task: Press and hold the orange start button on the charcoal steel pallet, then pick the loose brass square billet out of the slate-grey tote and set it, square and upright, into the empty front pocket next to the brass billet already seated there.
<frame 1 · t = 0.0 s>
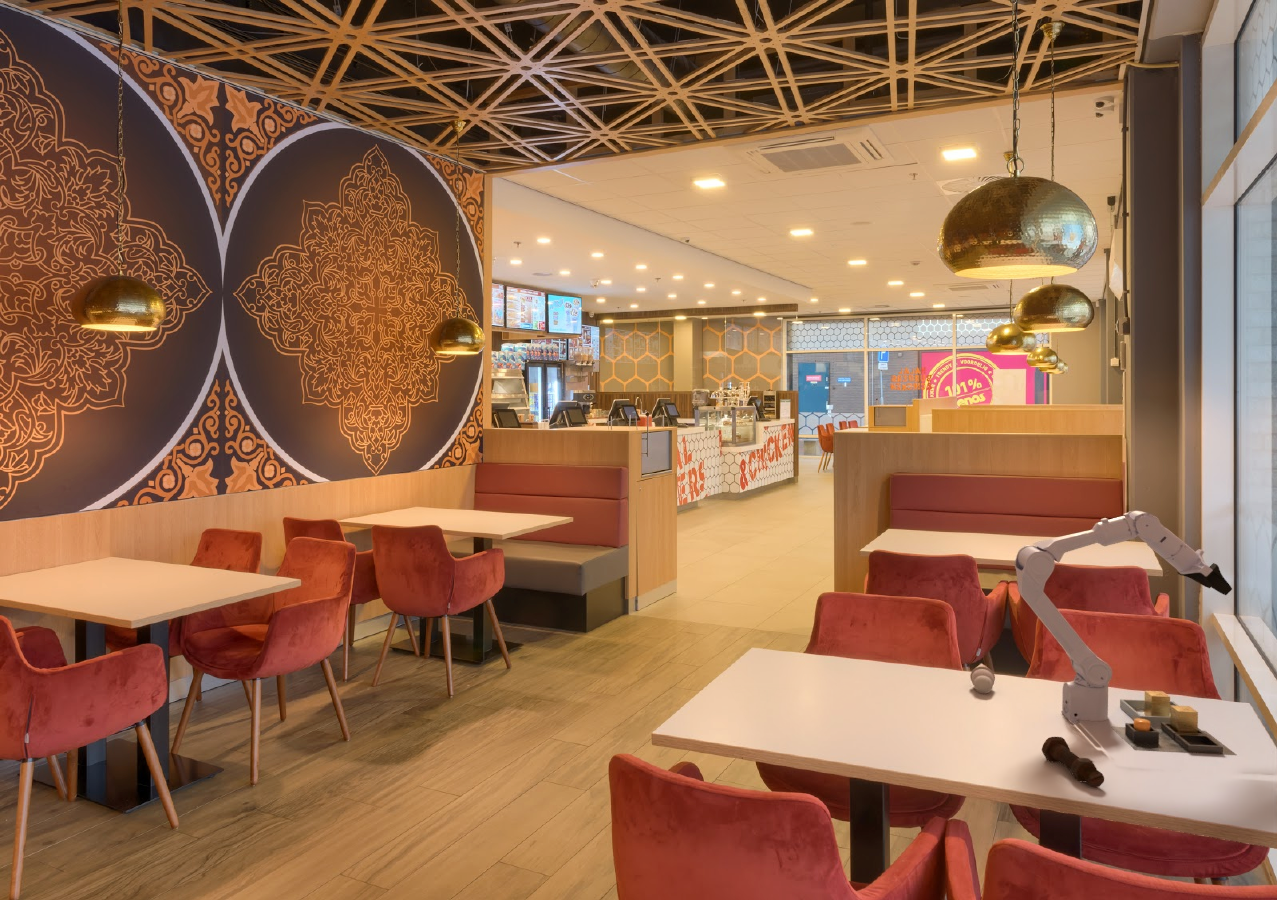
hand: (1220, 588, 203), 32 cm above the table, fingers open, 7 cm apart
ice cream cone: (981, 688, 234), on the table
tote: (1156, 721, 207), on the table
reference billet: (1183, 735, 196), point 1 cm above the table, touching pallet
pallet: (1170, 744, 193), on the table
start button: (1141, 726, 194), point 4 cm above the table, slide at 0.0 cm
billet: (1156, 718, 207), point 1 cm above the table, touching tote
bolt: (1073, 775, 179), on the table
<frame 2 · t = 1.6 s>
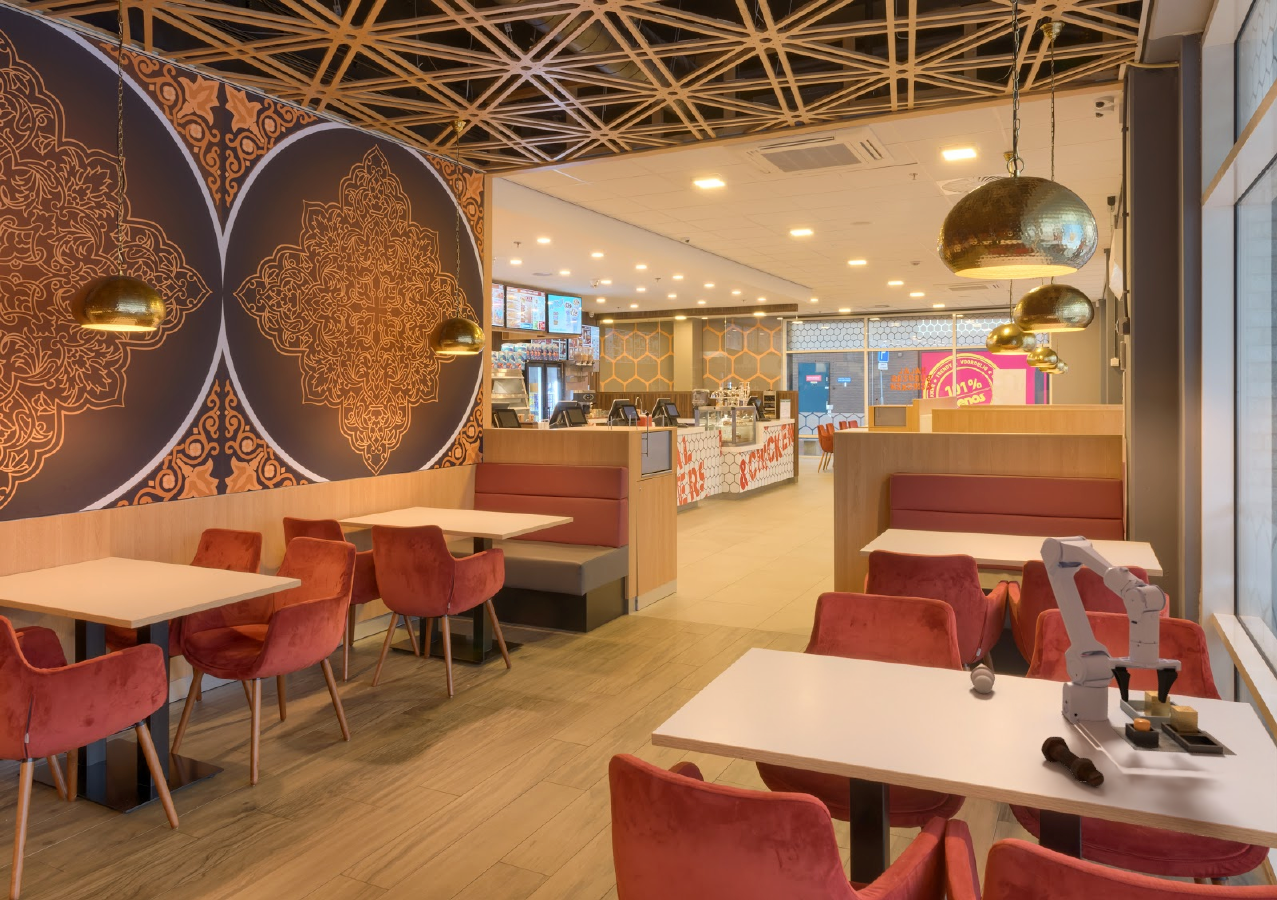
hand: (1143, 701, 194), 9 cm above the table, fingers open, 7 cm apart
nothing on the table moved.
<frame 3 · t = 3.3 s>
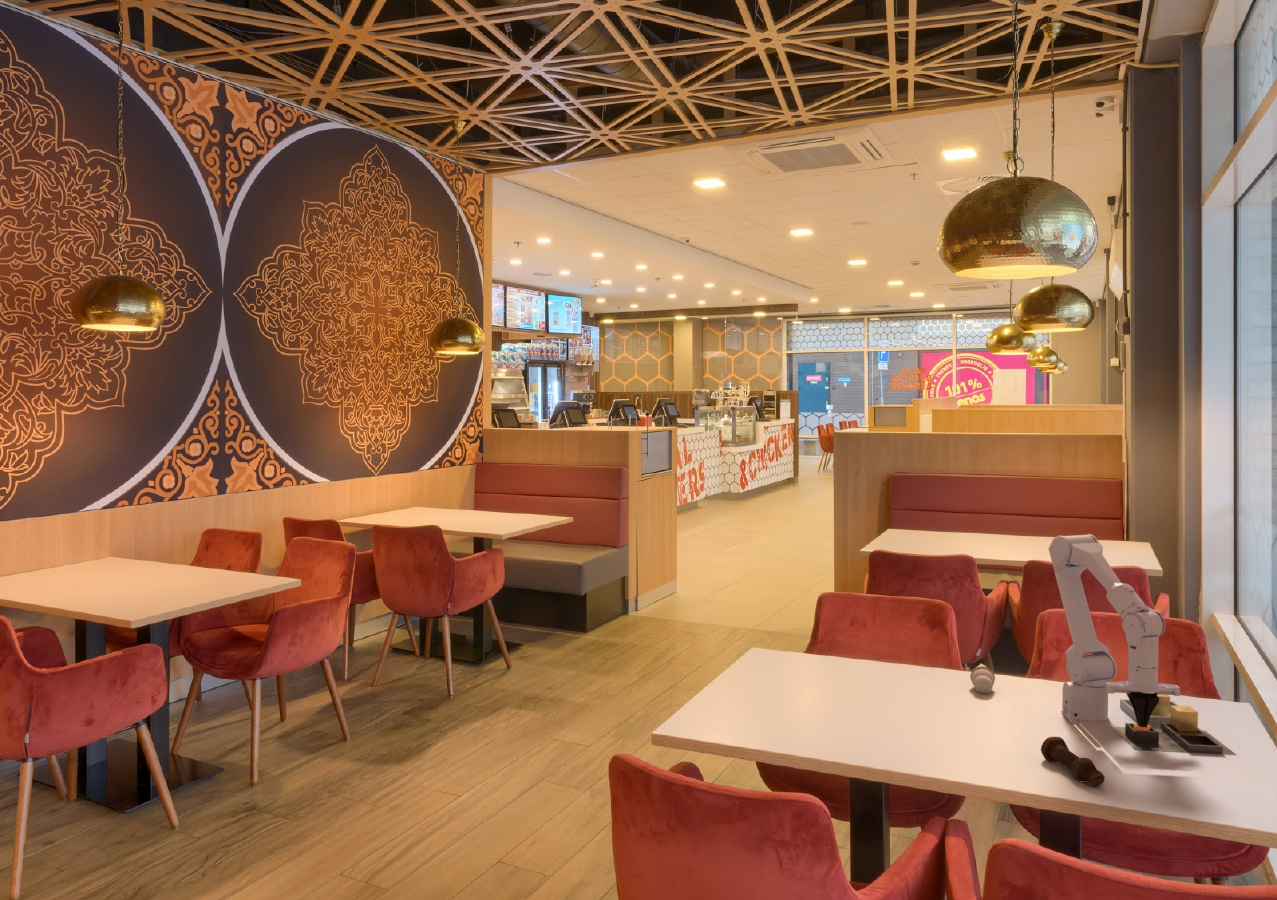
hand: (1142, 725, 194), 4 cm above the table, fingers closed, pressing on start button
start button: (1141, 730, 194), point 3 cm above the table, slide at 1.0 cm, touching gripper
everything else where it was.
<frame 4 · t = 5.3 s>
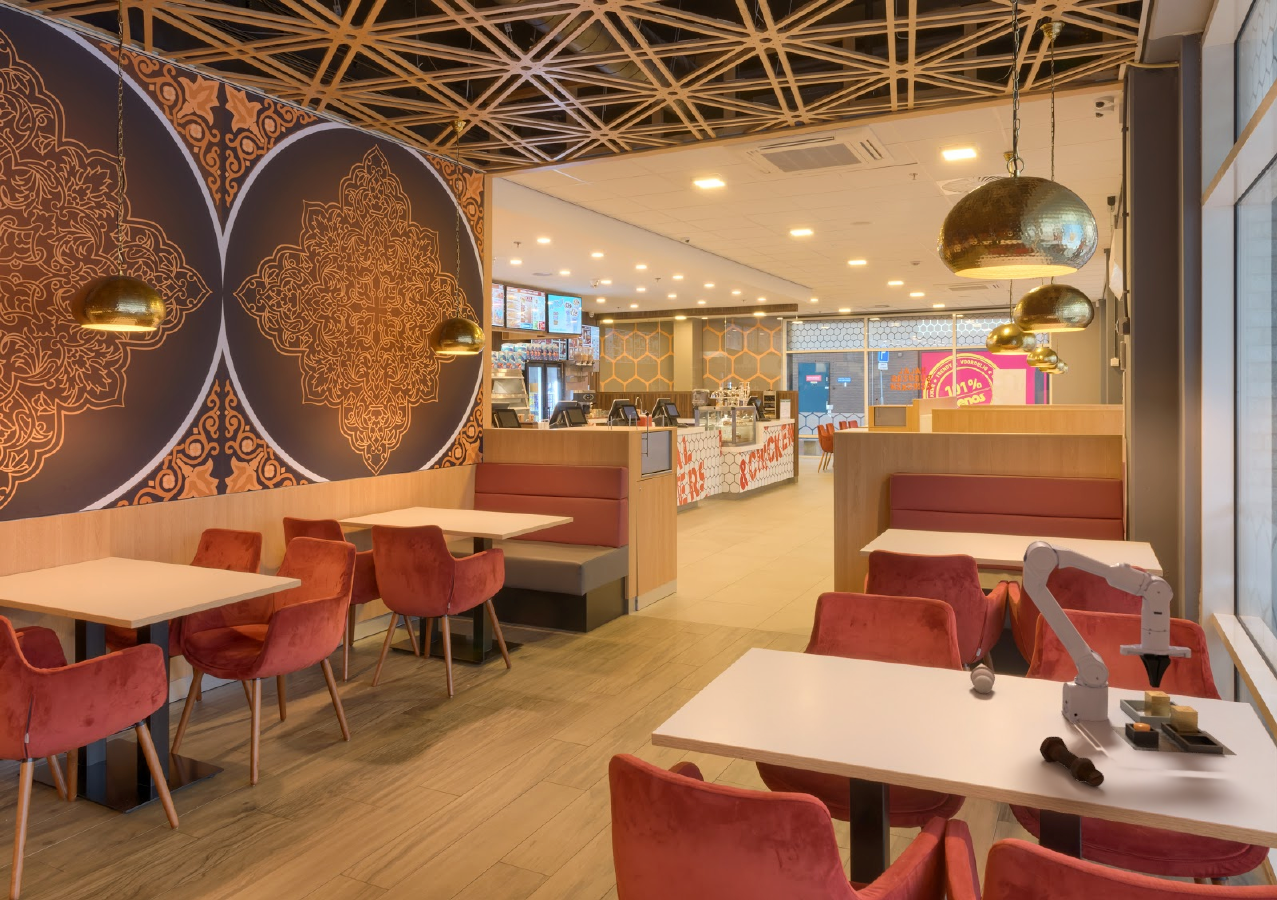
hand: (1154, 686, 204), 9 cm above the table, fingers closed
start button: (1141, 730, 194), point 3 cm above the table, slide at 1.0 cm
everything else where it was.
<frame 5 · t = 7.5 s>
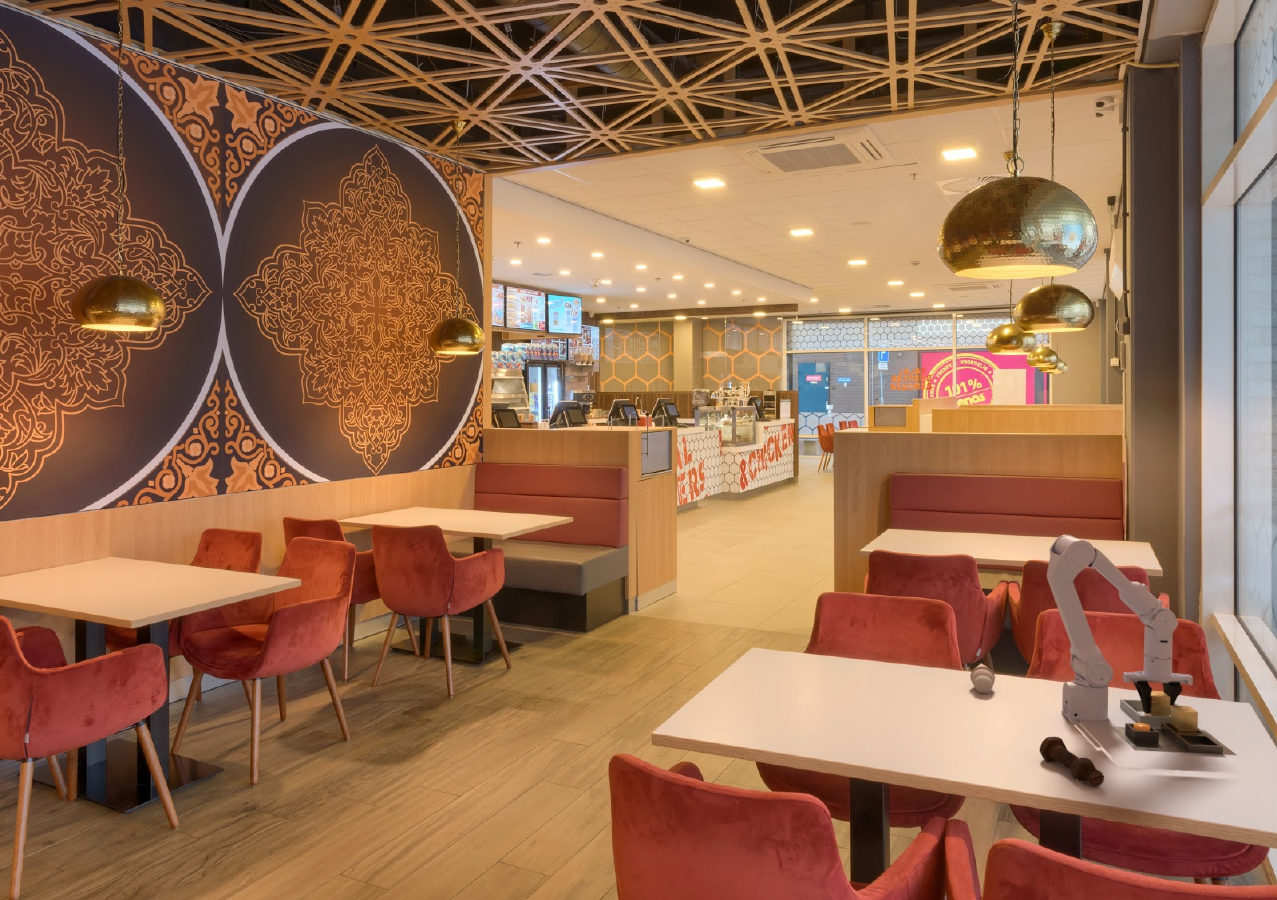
hand: (1156, 712, 207), 2 cm above the table, fingers closed on billet, 4 cm apart
billet: (1156, 718, 207), point 1 cm above the table, touching gripper, tote
everything else where it was.
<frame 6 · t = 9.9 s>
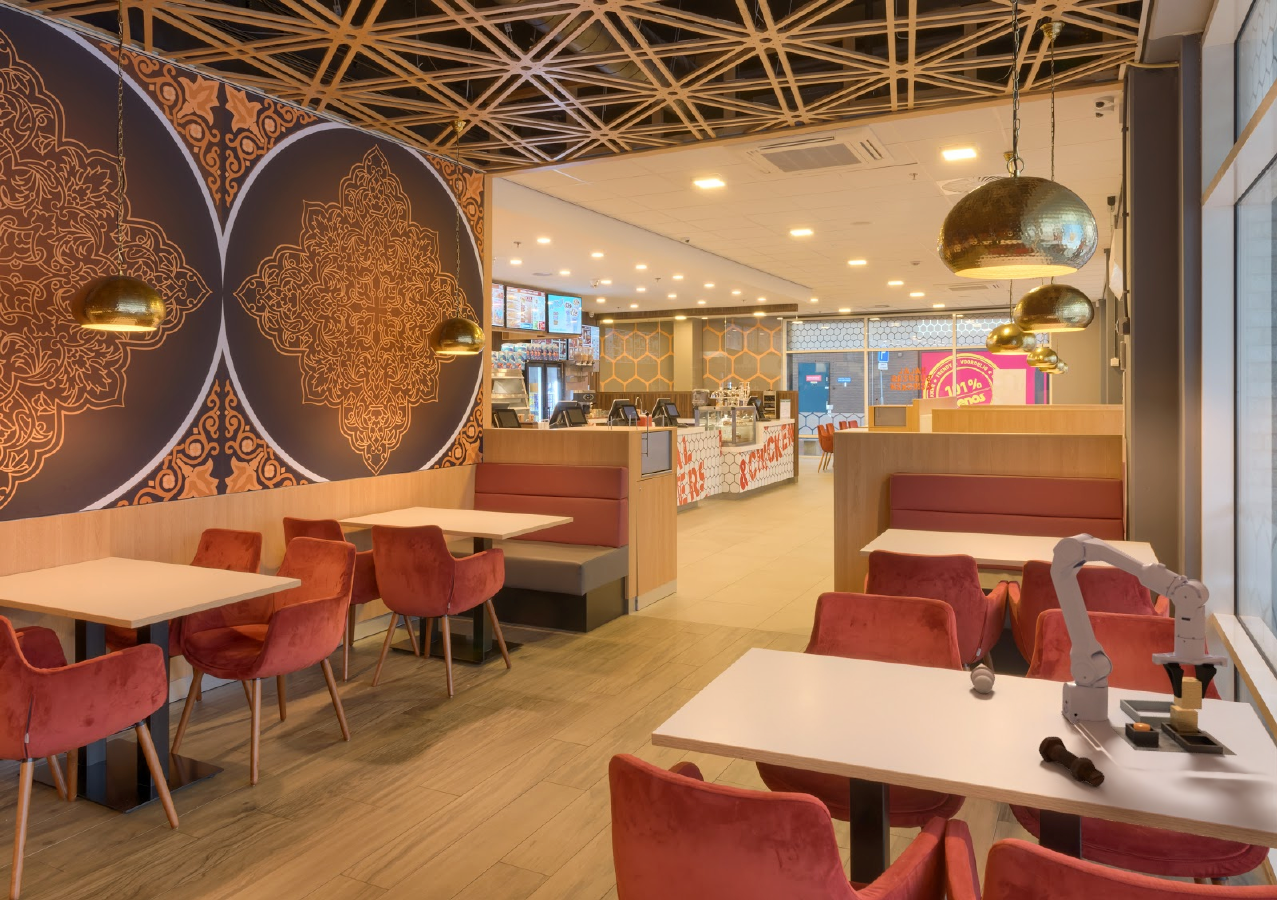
hand: (1188, 696, 193), 10 cm above the table, fingers closed on billet, 4 cm apart
billet: (1187, 706, 194), point 8 cm above the table, touching gripper
everything else where it was.
when the fingers open (3 cm above the table, at t = 12.0 s): billet stays where it is, resting on pallet.
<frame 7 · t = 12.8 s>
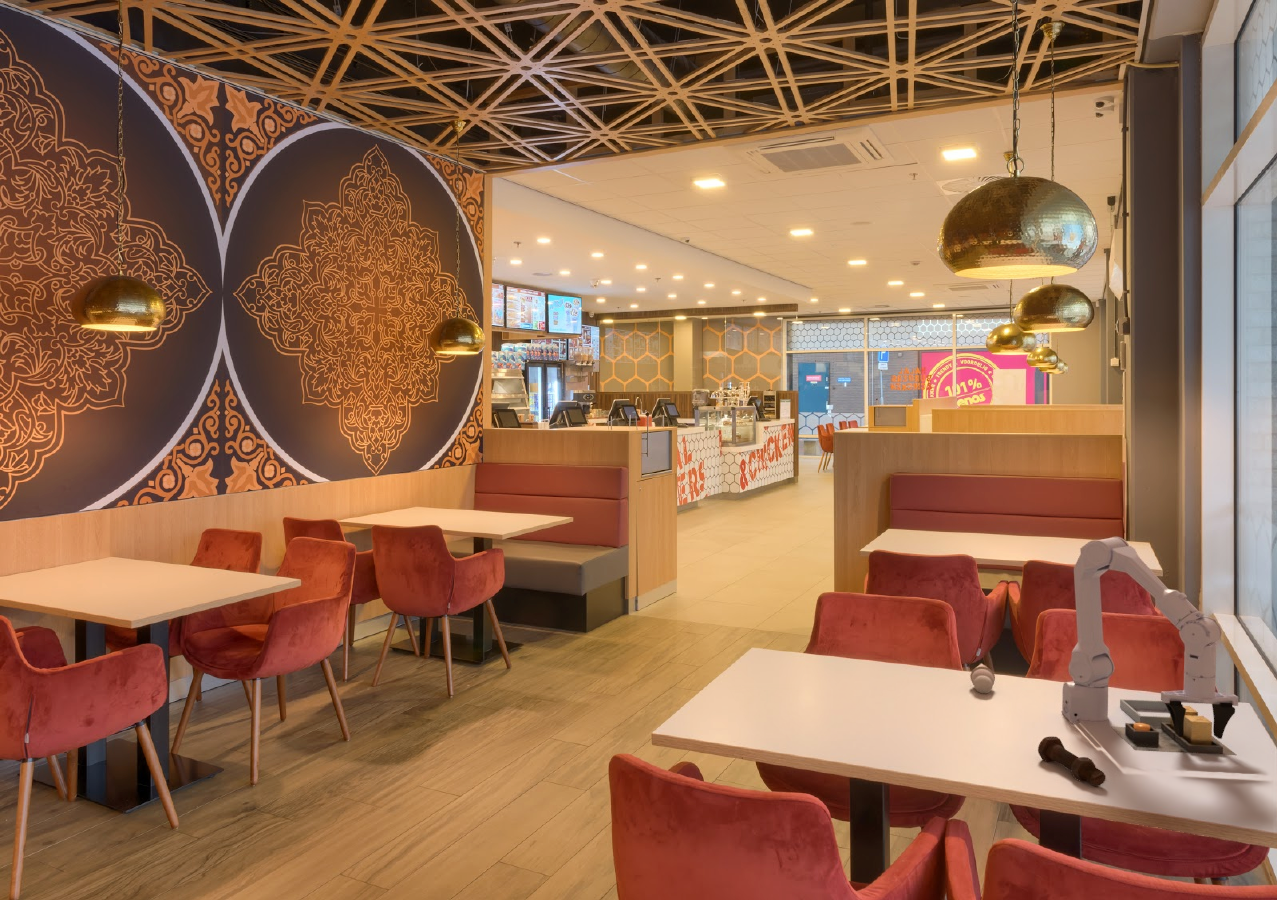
hand: (1198, 736, 189), 3 cm above the table, fingers open, 7 cm apart
billet: (1196, 745, 190), point 1 cm above the table, touching pallet
everything else where it was.
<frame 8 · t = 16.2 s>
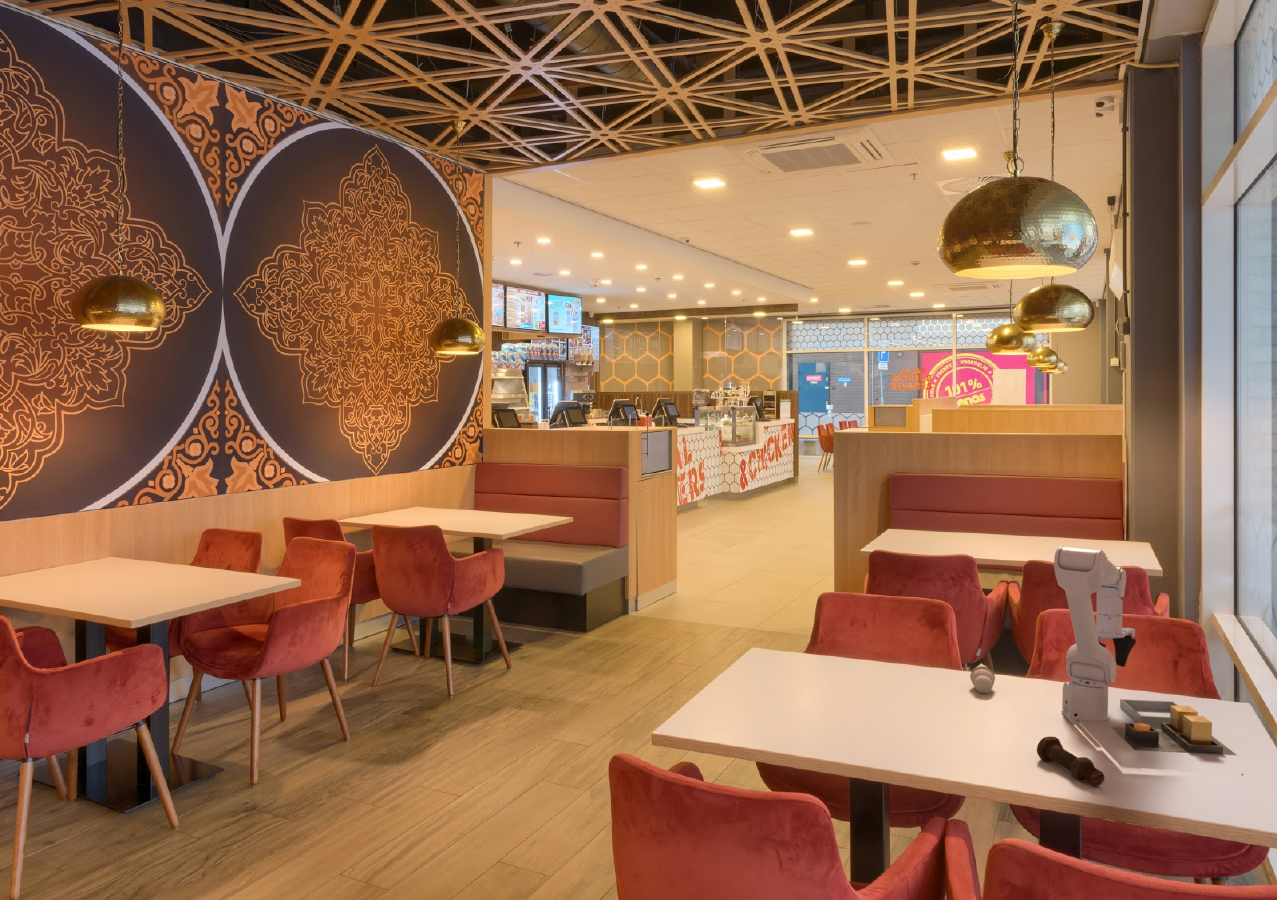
hand: (1108, 667, 219), 9 cm above the table, fingers open, 7 cm apart
nothing on the table moved.
at the end: start button slide at 1.0 cm; billet 0.6 cm from the target spot on the pallet, point 1.0 cm above the pallet's base; billet tilted 0° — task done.
